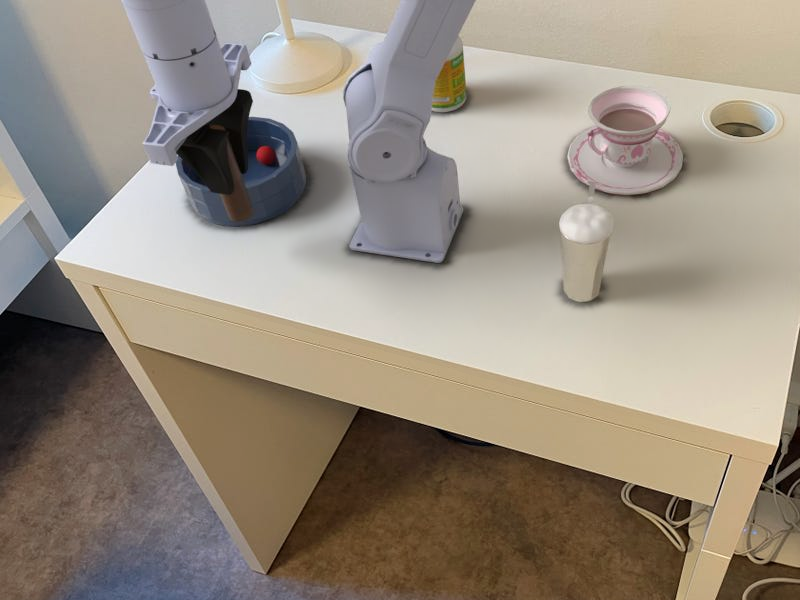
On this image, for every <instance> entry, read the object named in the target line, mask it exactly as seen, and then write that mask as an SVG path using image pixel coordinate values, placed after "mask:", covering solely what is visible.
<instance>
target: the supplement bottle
mask: <svg viewBox="0 0 800 600" xmlns="http://www.w3.org/2000/svg"><path fill="white" fill-rule="evenodd" d="M463 44H464V43H463V40H462V38H461V36H460V35H458V37H457V39H456V41H455V43H454V45H453V47H452V49H451V51H450V53H449V55H448V57H447V59H446V61H445V63H444V65H443V67H442V69H441V71H440V73H439V75H438V77H437V79H436V82H435V88H434V95H433V103H432V110H431V112H434V113H447V112H452V111H456V110H457V109H459V108H461V107H462V106H463V105H464V104H465V103H466V100H467V82H466V69H465V55H464V45H463Z"/></svg>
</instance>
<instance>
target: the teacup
mask: <svg viewBox="0 0 800 600" xmlns="http://www.w3.org/2000/svg"><path fill="white" fill-rule="evenodd" d="M670 113H671V102H670V101H669V98H667V96H666V95H665V94H664V93H662V92H661V91H660V90H657V89H654V88H651V87H648V86H644V85H643V86H642V85H622V86H617V87H613V88H609V89H607V90H604V91H602V92H600V93H599V94H597V95H596V96H594V98H593V99H592V100H591V101H590V102H589V104H588V106H587V114H588V115H587V116H588V118H589V119H590V121H591V122H592V123H593V125H594V126H591V127H589V128H587V129H586V130H584V131H582V132H581V133H579V134H578V135H577V136H576V137H575V138H574V139H573V141H572V142H571V143H570V145H569V147H568V152H567V157H566V159H567V162H568V165H569V170H570V171H571V172H572V173H573V174H574V176H575V177H576V178H577V180H578V181H580V182H582V183H584V184H585V185H587V186H588V187H589V185H590V182H595V190H597V191H601V192H604V193H607V194H611V195H623V196H632V195H633V196H634V195H643V194H648V193H651V192H654V191H656V190H659V189H660V190H661V189H662V188H664V187H666V186H667V185H668V184H670V183H671V182H673V181H674V180H675V179H676V178H677V177H678V175H679V173H680V172H681V170H682V168H683V159H684V154H683V151H682V149H681V147H680V144H679V143H678V142H677V141H676V140H675V139H674V138H673V137H672V136H671V135H670V134H669V133H667V132H665V131H663V130H661V128H662V127H663V126H664V125H665V124H666V121H667V119H668V117H669V115H670Z"/></svg>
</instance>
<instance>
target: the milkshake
mask: <svg viewBox="0 0 800 600" xmlns="http://www.w3.org/2000/svg"><path fill="white" fill-rule="evenodd" d="M595 190H596V189H595V182H590V185H589V186H588V193H587V194H588V196H587V203H577V204H575V205H573V206H571V207H569V208H568V209H566V210H565V211H564V212H563V213H562V214H561V216H560V219H559V222H558V226H559V237H560V246H561V261H562V263H561V264H562V278H563V279H562V280H563V291H564V293H565V294H566V296H567V297H568V299H570V300H573V301H575V302H578V303H586V302H587V303H588V302H591V301H593V300H594V299H596V298H597V297H598V296H599V294H600V290H601V286H602V285H601V284H602V280H603V279H602V278H603V275H604V274H603V273H604V269H605V265H606V259H607V255H608V253H609V249H610V245H611V240H612V236H613V231H614V227H615V220H614V217H613V216H612V214H610V212H609V211H608V210H607V209H606V208H604V207H603V206H600V205H596V204H594V199H595V192H596V191H595Z"/></svg>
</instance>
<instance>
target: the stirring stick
mask: <svg viewBox="0 0 800 600" xmlns="http://www.w3.org/2000/svg"><path fill="white" fill-rule="evenodd" d="M210 128H211V129H219V130H226V129H225V128H224V127H222V126H220V125H211V126H210ZM227 151H228V161H229V165H230V169H231V173H232V176H233V181H234V191H233V193H232V194H231V195H226V194H220V196H221V199H222V201H223V204H224V206H225V209H226V212H227V214H228V217H229V219H230V220H232V221H234V222H243V221H246V220H248V219H250V218H251V217H252V216H253V214H254V209H253V206H252V203H251V200H250V198H249V195H248V192H247V189H246V186H245V183H244V180H243V178H242V175H241V172H240V169H239V166H238V163H237V160H236V158H235V155H234V152H233V149H232V146H231V143H230V141H229V138H228V143H227Z"/></svg>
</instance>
